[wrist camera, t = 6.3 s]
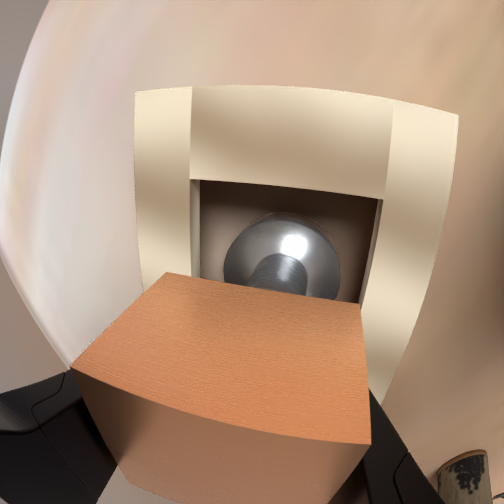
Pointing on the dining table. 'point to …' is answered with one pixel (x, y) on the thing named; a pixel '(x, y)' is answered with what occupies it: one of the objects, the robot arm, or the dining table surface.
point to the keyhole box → (302, 183)
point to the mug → (466, 479)
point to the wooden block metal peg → (237, 376)
